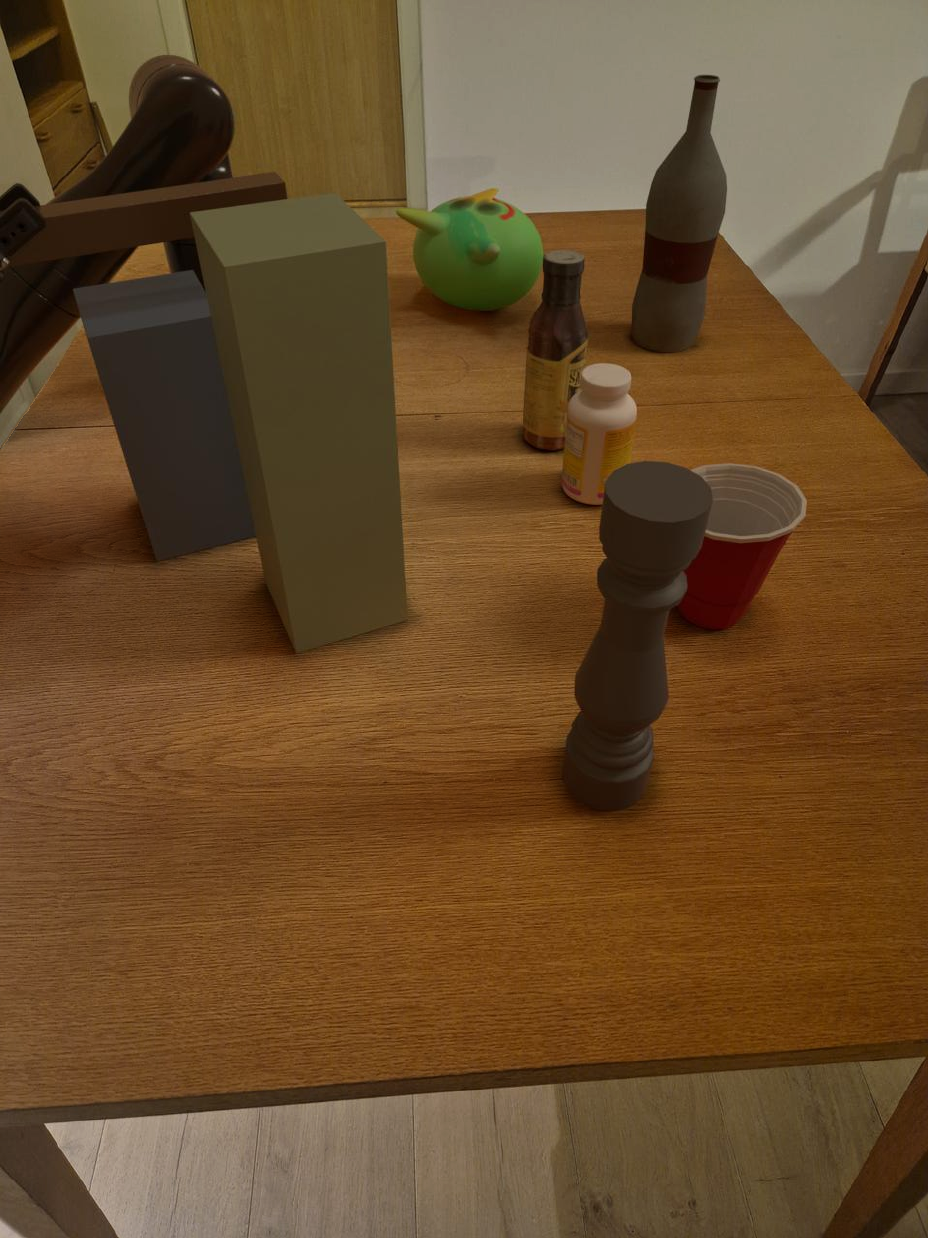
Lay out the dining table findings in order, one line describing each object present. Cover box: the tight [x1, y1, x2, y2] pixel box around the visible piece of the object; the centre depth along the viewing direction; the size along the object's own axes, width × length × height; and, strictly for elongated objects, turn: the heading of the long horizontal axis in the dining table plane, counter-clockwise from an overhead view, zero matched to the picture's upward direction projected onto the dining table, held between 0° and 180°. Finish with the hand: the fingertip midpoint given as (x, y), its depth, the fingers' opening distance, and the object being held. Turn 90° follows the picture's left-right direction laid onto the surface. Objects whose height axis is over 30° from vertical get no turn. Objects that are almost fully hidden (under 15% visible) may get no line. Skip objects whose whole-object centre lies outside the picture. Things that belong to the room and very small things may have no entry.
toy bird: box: [395, 187, 544, 312], centre depth 117 cm, size 18×17×15 cm
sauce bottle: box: [522, 248, 589, 451], centre depth 90 cm, size 7×6×20 cm
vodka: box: [631, 74, 728, 354], centre depth 104 cm, size 9×9×30 cm
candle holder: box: [561, 460, 713, 812], centre depth 54 cm, size 6×6×25 cm
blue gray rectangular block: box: [73, 270, 256, 562], centre depth 78 cm, size 10×10×22 cm
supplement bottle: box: [561, 362, 638, 506], centre depth 85 cm, size 7×7×13 cm
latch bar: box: [0, 171, 289, 268], centre depth 66 cm, size 24×3×3 cm, turn 114°
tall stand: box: [190, 192, 409, 654], centre depth 66 cm, size 10×10×32 cm
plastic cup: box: [677, 462, 808, 630], centre depth 72 cm, size 11×11×12 cm
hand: (32, 202), depth 63 cm, fingers closed on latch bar, 3 cm apart
